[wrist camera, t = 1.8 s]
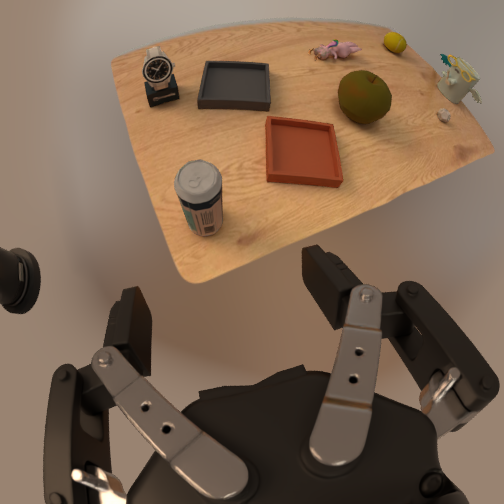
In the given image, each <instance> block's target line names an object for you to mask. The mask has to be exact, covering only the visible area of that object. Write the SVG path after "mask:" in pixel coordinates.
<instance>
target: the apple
mask: <svg viewBox="0 0 504 504" xmlns="http://www.w3.org/2000/svg"><path fill="white" fill-rule="evenodd" d="M338 98H339V104H340V108H341V109H342V111H343V113H344V114H345V115H346V116H347V117H348V118H350V119H352V120H353V121H355V122H358V123H362V124H369V123H372V122H374V121H376V120H378V119H381V118H383V116H384V115H385V114H386V113H387V112H388V111H389V110H390V107H391V100H392V95H391V93H390V90H389V88H388V86H387V84H386V83H385V82H384V81H383V80H382V79H381V78H380V77H378V76H377V75H375V74H373V73H371V72H369V71H364V70H360V71H354V72H350V73H349V74H347V75H346V76H344V77H343V78H342V80H341V81H340V85H339V89H338Z"/></svg>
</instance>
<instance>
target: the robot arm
mask: <svg viewBox="0 0 504 504" xmlns="http://www.w3.org/2000/svg"><path fill="white" fill-rule="evenodd" d="M302 277H303V281H304V284H305V286H306V287H307V289H308V290H309V292H310V293H311V295H312V296H313V298H314V300H315V301H316V303H317V304H318V305H319V307H320V309H321V310H322V312H323V313H324V315H325V317H326V318H327V320H328V321H329V323H330V324H331V326H332V328H333V329H334V330H336V329H340V328H343V330H342V334H341V339H340V343H339V347H338V351H337V355H336V358H335V362H334V366H333V370H332V373H327V372H323V371H306V370H305V367H304V365H303V364H302V365H299V366H296V367H293V368H290V369H287V370H283V371H280V372H277V373H276V374H274V375H272V376H270V377H268V378H266V379H264V380H263V381H261V382H259V383H257V384H255V385H249V386H222V387H217V388H213V389H208V390H203V391H199V397H200V399H198V400H196V401H194V402H192V403H191V404H189V405H188V406H187V407H186V408H185V409H183V410H182V411H181V412H180V411H179V410H177V409H176V408H175V407H174V406H173V405H172V404H171V403H170V402H169V401H168V400H167V399H165V398H164V397H163V396H162V395H161V394H160V393H159V392H158V391H157V390H156V389H155V388H154V387H153V386H152V385H151V384H150V383H149V382H148V381H147V380H146V379H145V378H144V377H146V376H151V338H152V316H151V312H150V310H149V308H148V305H147V303H146V301H145V299H144V297H143V294H142V292H141V290H140V288H139V287H138V286H136V287H132V288H127V289H124V290H123V292H122V296H121V301H116V303H115V304H114V305H113V307H112V308H111V311H110V315H109V319H108V326H107V329H106V334H105V339H104V344H103V348H101V349H100V350H98V351H97V352H96V353H95V354H94V356H93V358H92V362H91V364H89V365H87V366H85V367H83V368H81V369H78V370H77V369H76V368H75V367H74V366H73V365H71V364H64V365H62V366H60V367H59V368H58V369H57V370H56V371H55V372H54V374H53V377H52V382H51V388H50V394H49V401H48V408H47V416H46V425H45V438H44V457H43V481H44V498H45V503H46V504H469V502H468V500H467V498H466V496H465V495H464V493H463V492H462V491H461V490H460V489H459V488H458V487H457V486H456V485H455V484H454V483H453V482H451V481H450V480H449V478H448V477H447V476H446V475H445V474H444V473H443V471H442V469H441V467H440V463H439V460H438V451H437V440H438V439H439V438H441V437H442V436H444V435H445V434H447V433H448V432H455V431H458V430H459V429H461V428H462V427H463V426H464V425H465V424H467V423H468V422H469V421H470V420H471V419H472V418H474V417H475V416H476V415H477V414H478V413H479V412H480V411H481V410H482V409H483V408H484V407H485V406H487V405H488V403H490V402H491V401H492V400H493V399H494V398H495V397H496V395H497V394H498V391H499V380H498V377H497V375H496V374H495V373H494V371H493V370H492V369H491V367H490V366H489V364H488V363H487V362H486V360H485V359H484V358H483V356H482V355H481V354H480V352H479V351H478V350H477V348H476V347H475V346H474V345H473V343H472V342H471V341H470V340H469V338H468V337H467V336H466V335H465V333H464V332H463V331H462V330H461V329H460V327H459V326H458V325H457V324H456V323H455V322H454V320H453V319H452V318H451V317H450V316H449V315H448V313H447V312H446V311H445V310H444V309H443V308H442V307H441V305H440V304H439V303H438V302H437V301H436V300H435V299H434V298H433V297H432V296H431V295H430V294H429V292H428V291H427V290H426V289H425V288H424V287H423V286H422V285H420V284H419V283H417V282H413V281H405V282H402V283H401V284H400V285H399V287H398V290H397V292H385V293H381V291H380V290H379V289H378V288H376V287H375V286H372V285H368V284H363V283H362V282H361V281H360V280H359V279H358V278H357V277H356V276H355V274H354V273H353V272H352V271H351V270H350V269H349V268H348V267H347V266H346V265H345V264H344V263H343V261H342V260H340V258H339V257H338V256H336V255H334V254H332V253H330V252H327V253H325V252H324V251H323V250H322V249H321V248H320V246H318V245H313V246H309V247H305V248H302ZM28 286H29V269H28V265H27V263H26V261H25V259H24V258H23V257H22V256H20V255H18V254H16V253H12V252H10V251H7V250H5V249H3V248H1V247H0V304H5V305H8V306H17V305H19V304H20V303H21V302H22V301H23V299H24V298H25V296H26V293H27V290H28ZM415 326H416V327H417V329H418V330H419V331H420V333H421V334H422V335H421V334H420V333H419V331H418V330H417V329H416V327H415ZM383 338H388V339H389V341H390V342H391V344H392V345H393V347H394V348H395V350H396V351H397V353H398V354H399V356H400V357H401V359H402V361H403V362H404V363H405V365H406V367H407V368H408V370H409V372H410V373H411V374H412V376H413V378H414V380H415V381H416V383H417V384H418V386H419V388H420V389H421V393H420V397H419V401H420V405H421V410H422V412H421V411H419V410H417V409H415V408H412V407H409V406H407V405H404V404H401V403H399V402H397V401H394V400H392V399H389V398H387V397H384V396H382V395H379V394H377V393H375V392H374V390H375V384H376V377H377V371H378V364H379V357H380V348H381V339H383ZM114 406H118V407H119V408H120V410H121V411H122V412H123V414H124V415H125V416H126V417H127V419H128V420H129V421H130V422H131V423H132V424H133V426H134V427H135V428H136V429H137V430H138V432H139V433H140V434H141V435H142V436H143V437H144V438H145V439H146V440H147V442H148V443H149V444H150V445H151V446H152V447H153V448H154V449H155V452H154V453H153V455H152V456H151V458H150V459H149V461H148V462H147V464H146V465H145V467H144V469H143V470H142V471H141V473H140V474H139V476H138V478H137V479H136V480H135V482H134V483H133V485H132V486H131V488H130V490H129V492H128V494H127V495H126V493H125V492H124V490H123V486H122V484H121V482H120V480H119V479H118V478H117V477H116V476H115V475H113V474H112V470H111V458H110V442H109V408H112V407H114Z"/></svg>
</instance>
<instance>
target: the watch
mask: <svg viewBox="0 0 504 504" xmlns="http://www.w3.org/2000/svg"><path fill="white" fill-rule="evenodd" d="M146 53H147V56H146V57H145V59H144V66H143V70H142V74H143V77H144V78H145V80H147V82H144V83H145V89H146V95H147V99H148V102H149V105H150V107H153V106H156V105H159V104H163V103H166V102H170V101H173V100H177V99H179V93H178V86H177V83H176V80H175V77H174V74H172V72H173V67H175V63H172V62H171V61H170V59H168V57H167V56H166V54H165V53H164V51H163V52H161V48H160V46H157V47H154V48H150V49H147V50H146Z"/></svg>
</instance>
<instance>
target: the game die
mask: <svg viewBox="0 0 504 504" xmlns="http://www.w3.org/2000/svg"><path fill="white" fill-rule="evenodd" d="M438 117H439V119H440V120H441V121H443V122H448V121H449V120H450V113H449V112H448V110H446V109H440V110H439V111H438Z"/></svg>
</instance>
